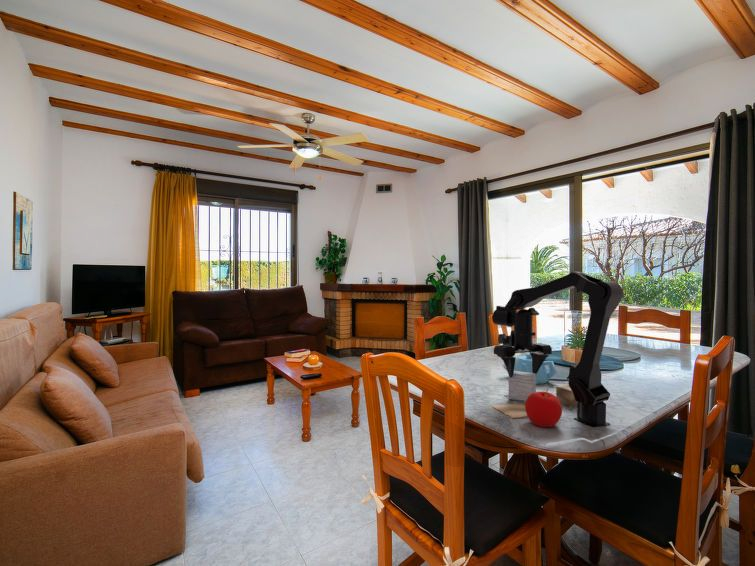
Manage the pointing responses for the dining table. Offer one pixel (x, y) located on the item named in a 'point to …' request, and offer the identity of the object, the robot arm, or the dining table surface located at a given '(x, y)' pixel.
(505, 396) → the tile
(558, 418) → the fruit
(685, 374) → the dining table surface
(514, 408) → the cork pad
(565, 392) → the walnut cube
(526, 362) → the teapot
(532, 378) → the medicine box
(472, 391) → the dining table surface
